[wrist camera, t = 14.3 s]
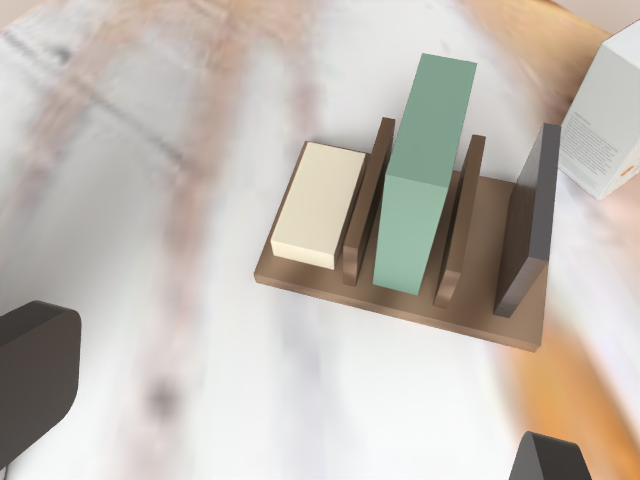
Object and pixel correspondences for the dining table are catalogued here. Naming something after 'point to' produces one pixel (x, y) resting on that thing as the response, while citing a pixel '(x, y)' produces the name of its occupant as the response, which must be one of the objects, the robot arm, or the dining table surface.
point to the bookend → (529, 223)
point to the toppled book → (319, 205)
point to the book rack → (443, 262)
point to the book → (421, 170)
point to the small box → (605, 118)
